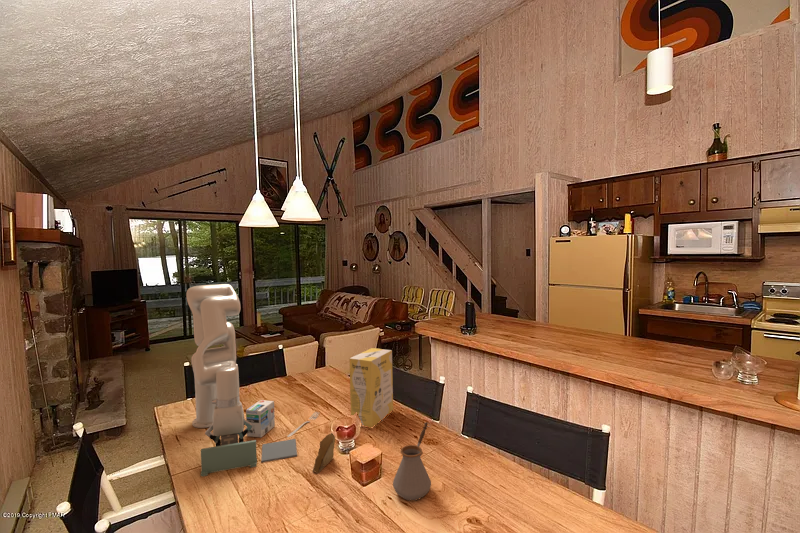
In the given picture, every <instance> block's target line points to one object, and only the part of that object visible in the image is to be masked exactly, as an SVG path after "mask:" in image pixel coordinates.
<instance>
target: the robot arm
mask: <svg viewBox="0 0 800 533" xmlns="http://www.w3.org/2000/svg"><path fill="white" fill-rule="evenodd" d="M186 302H187V304H188V306H189V309H190V311H191V313H192V317H193V318H192V319H193V337H194V343H195V345H196V346H198V347H197V348H196V352H194V353H193V354H192V356H191V367H192V371H193V376H194V392H195V394H194V396H195V416H196V417H195V419H193V420H192V422H191V424H192V427H194V428H197V429H203V428H204V429H206V428H207V430H205V432H204V435H205V436H207V437H208V438H209V439H210V440H212V441H213V442H214V443H215V447H216V446H221V436H224V435H231V434H237V433H238V443H240V442H245V441H244V440H245V439H244V437H245V436H247V433H248V431H249V430H250V429H251V428H252V424H251V423H250V422H248V421H247V420H246V418H245V414H244V413H245V412H244V408H243V403H242V401H240V378H239V377H240V376H239V366H238V364H237V345H236V343H237V342H236V331H235V326H234V324H233V323H232V322H230V321H228V320H227V317H233V316H238V315H239V314H240V312H241V301H240V298H239V296H238V294H237V292H236V291H235V289H234V288H233V286H232V285H231V284H228V283H219V284H217V283H216V284H203V285H201V284H200V285H194V286H191V287H189V288H188V289H187V291H186ZM217 345H223V346H220V347H212V346H217ZM210 347H211V348H210ZM245 427H246V428H245Z"/></svg>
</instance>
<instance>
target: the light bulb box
mask: <svg viewBox="0 0 800 533" xmlns="http://www.w3.org/2000/svg"><path fill="white" fill-rule="evenodd" d="M245 416H246V418H245V420H247V421H248V422H250V423H251V424H252V428H251V429H250V430H249V431H248V433H247V434H246V437H253V438H262V437H264V436H265V435H266V434H267V433H268V432H270V430H272V429H273V428H274V427H275V426H276V425H275V423H276V422H275V419H276V418H275V401H274V400H264V399H260V400H258V401H257V402H255V403H254V404H252V405H251V406H250V407H248V408H247V409H246V410H245Z"/></svg>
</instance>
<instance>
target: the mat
mask: <svg viewBox="0 0 800 533" xmlns="http://www.w3.org/2000/svg"><path fill="white" fill-rule="evenodd" d="M296 441H297V440H296V438H291V439H287V440H279V441H274V442H273V441H272V442H268V443H262V447H261V458H260V459H261V460H260V462H261V463H267V462H272V461H273V462H274V461H279V460H284V459H288V458H289V459H290V458H293V457H295V458H296V457H298V451H297V442H296Z"/></svg>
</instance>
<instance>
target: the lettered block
mask: <svg viewBox="0 0 800 533" xmlns="http://www.w3.org/2000/svg"><path fill="white" fill-rule="evenodd" d="M220 439H221V446H222V445H228V444H234V443H239V435H238V433H237V434H231V435H224V436H220Z"/></svg>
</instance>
